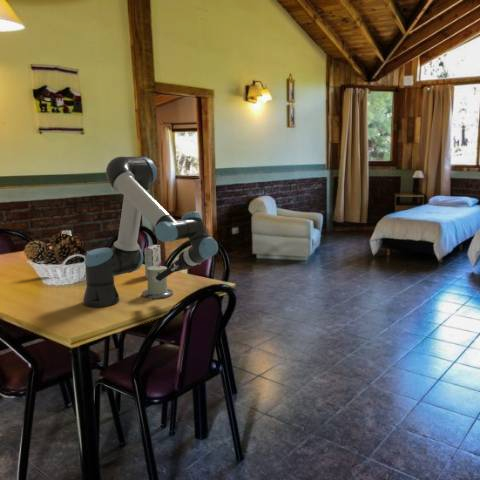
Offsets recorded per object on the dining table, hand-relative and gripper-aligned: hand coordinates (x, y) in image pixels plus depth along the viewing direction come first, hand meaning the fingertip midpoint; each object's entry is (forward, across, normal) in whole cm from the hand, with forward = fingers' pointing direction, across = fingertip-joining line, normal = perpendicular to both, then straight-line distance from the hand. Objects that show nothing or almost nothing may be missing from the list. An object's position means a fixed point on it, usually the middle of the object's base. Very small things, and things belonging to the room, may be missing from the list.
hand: (165, 271), depth 207 cm
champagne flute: (+76, -3, +25) cm, 81 cm away
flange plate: (+15, -1, -8) cm, 17 cm away
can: (+15, 0, -7) cm, 16 cm away
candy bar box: (+44, +20, -1) cm, 48 cm away
